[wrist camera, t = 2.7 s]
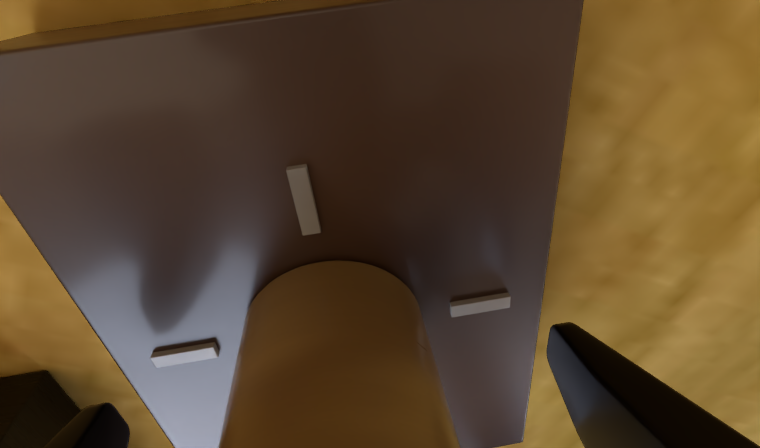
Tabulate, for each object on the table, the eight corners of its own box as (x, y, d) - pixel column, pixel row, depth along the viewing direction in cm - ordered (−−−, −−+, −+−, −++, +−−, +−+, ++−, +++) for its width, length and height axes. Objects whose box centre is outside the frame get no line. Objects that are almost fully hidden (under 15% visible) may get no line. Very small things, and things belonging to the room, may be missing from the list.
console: (491, 366, 16) (525, 447, 13) (227, 413, 15) (208, 507, 13) (512, -31, 9) (595, -29, 6) (31, 33, 8) (-103, 65, 6)
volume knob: (406, 239, 8) (484, 490, 4) (430, 364, 11) (499, 609, 7) (215, 283, 8) (119, 575, 4) (278, 399, 11) (254, 665, 7)
